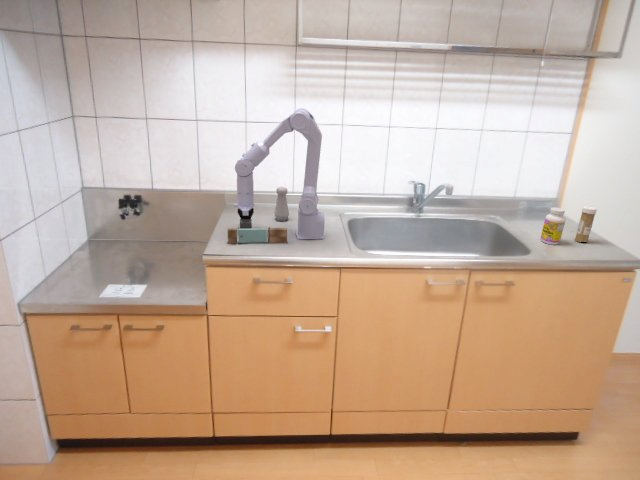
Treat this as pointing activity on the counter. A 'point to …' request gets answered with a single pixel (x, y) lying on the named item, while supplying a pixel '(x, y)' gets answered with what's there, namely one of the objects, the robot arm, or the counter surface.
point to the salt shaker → (281, 205)
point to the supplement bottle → (553, 226)
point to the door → (252, 235)
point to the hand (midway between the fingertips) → (245, 228)
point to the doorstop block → (245, 223)
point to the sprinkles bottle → (585, 223)
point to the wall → (273, 235)
